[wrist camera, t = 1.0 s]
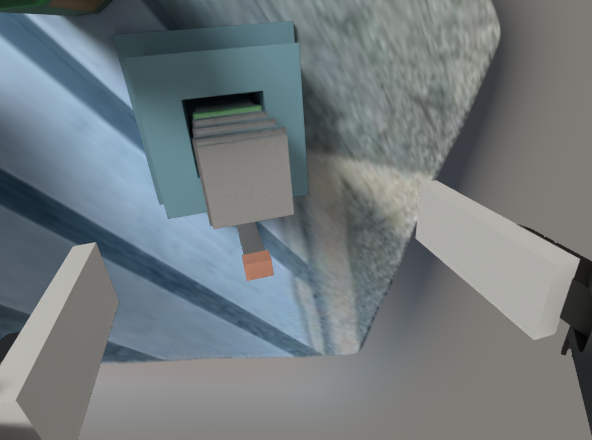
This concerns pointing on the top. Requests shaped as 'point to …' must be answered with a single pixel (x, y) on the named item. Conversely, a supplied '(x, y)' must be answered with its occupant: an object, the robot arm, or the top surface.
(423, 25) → the top surface
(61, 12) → the bottle
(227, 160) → the column
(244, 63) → the stand base
